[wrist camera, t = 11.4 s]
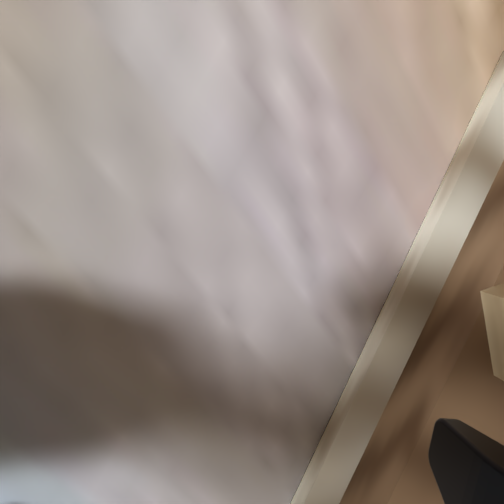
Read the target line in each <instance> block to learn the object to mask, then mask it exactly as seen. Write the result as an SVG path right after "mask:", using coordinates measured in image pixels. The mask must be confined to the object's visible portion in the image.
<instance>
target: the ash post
mask: <svg viewBox="0 0 504 504" xmlns="http://www.w3.org/2000/svg"><path fill="white" fill-rule="evenodd" d="M480 293H481V299H482V305H483V312H484V318H485V324H486V330H487V337H488V343H489V349H490V355H491V362H492V368H493V374H494V376H496V377H497V378H499V379H501V380H503V381H504V283H502V284H499V285H496V286H493V287H490V288H487V289H484V290H481V291H480Z"/></svg>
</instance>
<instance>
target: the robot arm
mask: <svg viewBox="0 0 504 504" xmlns="http://www.w3.org/2000/svg"><path fill="white" fill-rule="evenodd" d="M428 459H429V464H430V467H431V470H432V472H433V475H434V477H435V480H436V483H437V485H438V488H439V490H440V493H441V496H442V498H443V501H444V504H504V445H502V444H500V443H499V442H497V441H495V440H494V439H492V438H490V437H488V436H487V435H485V434H483V433H481V432H480V431H478V430H476V429H474V428H473V427H471V426H469V425H467V424H466V423H464V422H462V421H460V420H458V419H448V418H439V419H438V420H436V422H435V424H434V428H433V433H432V437H431V442H430V446H429V451H428Z"/></svg>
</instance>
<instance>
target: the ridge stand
mask: <svg viewBox="0 0 504 504" xmlns="http://www.w3.org/2000/svg"><path fill="white" fill-rule="evenodd" d="M502 283H504V51H503V53H502V55H501V57H500V59H499V61H498V64H497V66H496V68H495V70H494V72H493V74H492V76H491V78H490V81H489V83H488V85H487V87H486V89H485V91H484V93H483V95H482V98H481V100H480V102H479V104H478V106H477V108H476V110H475V112H474V115H473V117H472V119H471V121H470V123H469V125H468V127H467V129H466V132H465V134H464V136H463V138H462V140H461V142H460V144H459V146H458V149H457V151H456V153H455V155H454V157H453V159H452V161H451V163H450V166H449V168H448V170H447V172H446V174H445V176H444V178H443V180H442V183H441V185H440V187H439V189H438V191H437V193H436V195H435V197H434V200H433V202H432V204H431V206H430V208H429V210H428V212H427V214H426V217H425V219H424V221H423V223H422V225H421V227H420V229H419V231H418V234H417V236H416V238H415V240H414V242H413V244H412V246H411V248H410V251H409V253H408V255H407V257H406V259H405V261H404V263H403V265H402V268H401V270H400V272H399V274H398V276H397V278H396V280H395V282H394V285H393V287H392V289H391V291H390V293H389V295H388V297H387V299H386V302H385V304H384V306H383V308H382V310H381V312H380V314H379V316H378V319H377V321H376V323H375V325H374V327H373V329H372V331H371V333H370V336H369V338H368V340H367V342H366V344H365V346H364V348H363V350H362V353H361V355H360V357H359V359H358V361H357V363H356V365H355V367H354V370H353V372H352V374H351V376H350V378H349V380H348V382H347V384H346V387H345V389H344V391H343V393H342V395H341V397H340V399H339V401H338V404H337V406H336V408H335V410H334V412H333V414H332V416H331V419H330V421H329V423H328V425H327V427H326V429H325V431H324V433H323V436H322V438H321V440H320V442H319V444H318V446H317V448H316V450H315V453H314V455H313V457H312V459H311V461H310V463H309V465H308V467H307V470H306V472H305V474H304V476H303V478H302V480H301V482H300V484H299V487H298V489H297V491H296V493H295V495H294V497H293V499H292V501H291V504H444V501H443V498H442V496H441V493H440V490H439V488H438V485H437V483H436V480H435V477H434V475H433V472H432V470H431V467H430V464H429V459H428V451H429V446H430V442H431V437H432V433H433V428H434V424H435V422H436V420H438V419H439V418H448V419H458V420H460V421H462V422H464V423H466V424H467V425H469V426H471V427H473V428H474V429H476V430H478V431H480V432H481V433H483V434H485V435H487V436H488V437H490V438H492V439H494V440H495V441H497V442H499V443H500V444H502V445H504V381H503V380H501V379H499V378H497V377H496V376H494V374H493V368H492V362H491V355H490V349H489V343H488V337H487V330H486V324H485V318H484V312H483V305H482V299H481V293H480V291H481V290H484V289H487V288H490V287H493V286H496V285H499V284H502Z"/></svg>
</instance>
